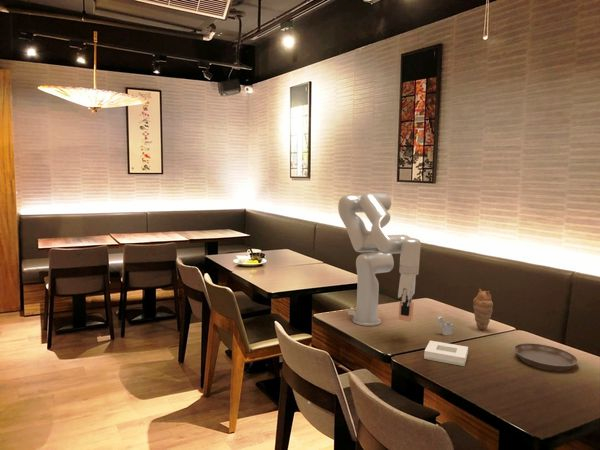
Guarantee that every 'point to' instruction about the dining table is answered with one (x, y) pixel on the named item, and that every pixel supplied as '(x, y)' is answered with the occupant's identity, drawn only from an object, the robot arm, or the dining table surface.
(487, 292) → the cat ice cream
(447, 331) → the white plastic device
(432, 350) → the holder
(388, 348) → the dining table surface
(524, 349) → the plant saucer
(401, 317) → the block
